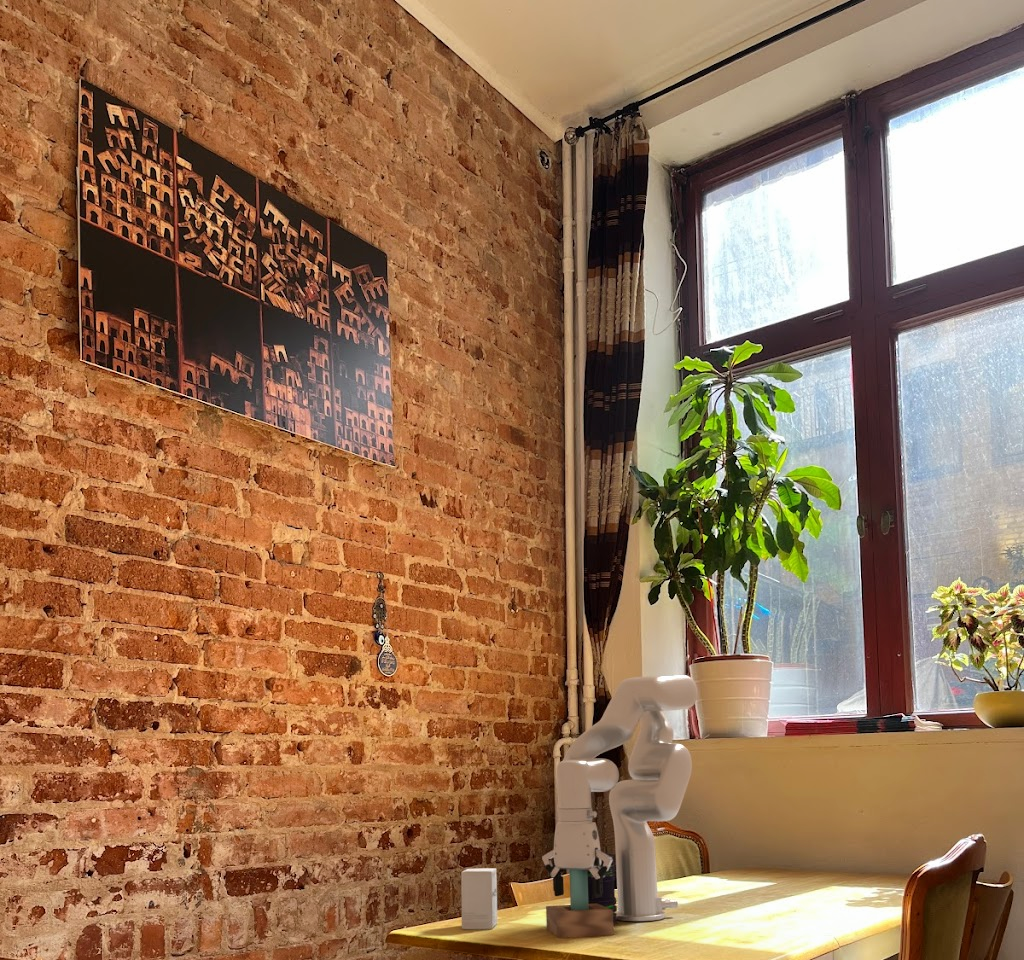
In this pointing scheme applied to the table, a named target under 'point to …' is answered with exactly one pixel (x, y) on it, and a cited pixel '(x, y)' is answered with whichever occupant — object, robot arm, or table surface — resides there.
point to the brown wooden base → (579, 921)
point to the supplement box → (479, 898)
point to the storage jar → (604, 889)
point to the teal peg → (578, 889)
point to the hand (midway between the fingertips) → (578, 896)
